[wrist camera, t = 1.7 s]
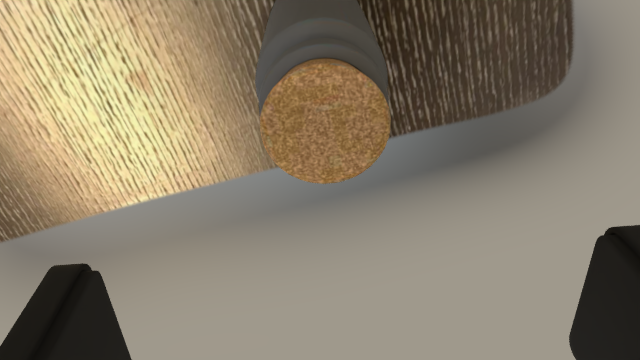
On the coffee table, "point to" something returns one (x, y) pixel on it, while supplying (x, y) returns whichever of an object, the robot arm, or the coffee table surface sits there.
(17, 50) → the coffee table surface
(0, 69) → the coffee table surface
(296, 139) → the bottle
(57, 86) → the coffee table surface
